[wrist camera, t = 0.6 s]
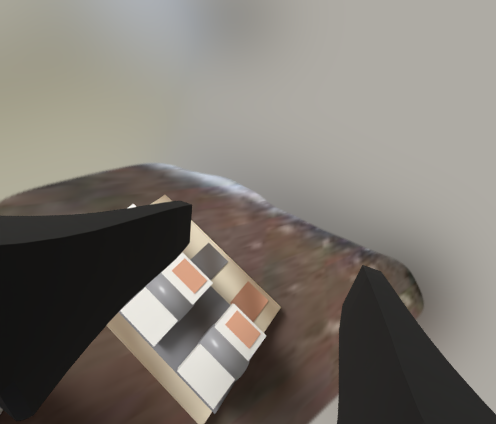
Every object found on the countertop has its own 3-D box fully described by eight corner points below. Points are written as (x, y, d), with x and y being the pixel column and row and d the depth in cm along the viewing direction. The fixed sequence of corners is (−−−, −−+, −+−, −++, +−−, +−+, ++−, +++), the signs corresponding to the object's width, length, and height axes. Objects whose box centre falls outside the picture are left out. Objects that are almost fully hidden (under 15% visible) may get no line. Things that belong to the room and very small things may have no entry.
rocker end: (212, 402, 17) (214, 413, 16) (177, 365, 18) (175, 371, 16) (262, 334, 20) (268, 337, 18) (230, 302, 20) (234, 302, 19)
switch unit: (198, 421, 20) (207, 438, 16) (59, 272, 21) (41, 260, 18) (274, 308, 26) (292, 304, 23) (164, 201, 28) (165, 182, 25)
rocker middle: (157, 344, 18) (154, 348, 16) (124, 309, 18) (117, 310, 17) (212, 284, 20) (214, 283, 19) (182, 254, 21) (181, 250, 19)
